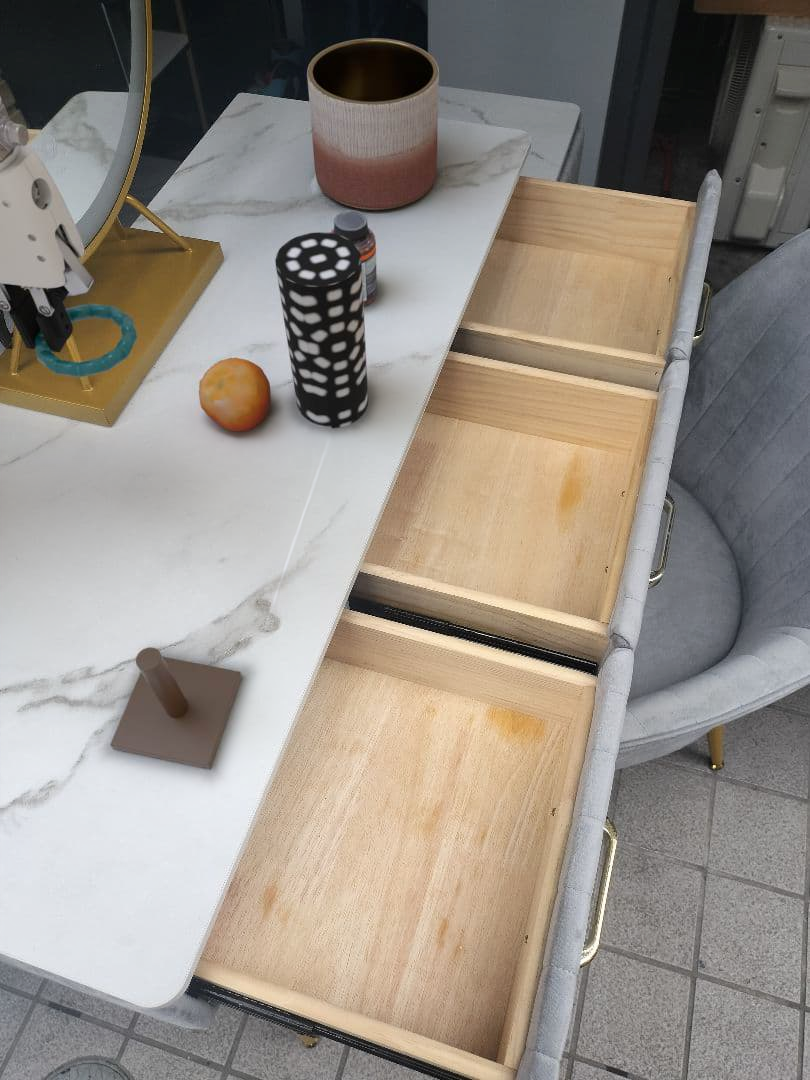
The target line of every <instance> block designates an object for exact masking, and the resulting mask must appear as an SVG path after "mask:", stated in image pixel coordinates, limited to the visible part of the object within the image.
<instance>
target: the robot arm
mask: <svg viewBox="0 0 810 1080" xmlns="http://www.w3.org/2000/svg"><path fill="white" fill-rule="evenodd" d="M29 139H30V136H29V130H28V128H27V127H26V125H24V124H23V123H15V122H14V121H13V120H11V118H10V115H9V113H8V110H7V108H6V106H5V104H4V101H3V99H2V96H1V95H0V310H1V311H4V312H8V314H9V316H10V318H11V320H12V322H13V324H14V326H15V328H16V330H17V333H18V334H19V336H20V338H21V340H22V342H23V344H24V345H25V347H26V349H28V350H36V348H35V337H36V336H37V334H38V333H39V331H40V330H41V331H42V333H43V335H44V337H45V340H46V342H47V344H48V345H49V346H50V348H51V352H52V353H61V351H62V350H63V348H64V346H65V344H66V343H67V341H68V340H69V339H70V338H71V336H72V335H73V331H74V326H73V322H72V323H71V320H70V318H69V316H68V314H67V311H66V309H67V308H66V306H65V305H64V301H65V299H67V297H70V296H71V297H74V296H79V295H84V294H87V293H88V292H89V290H90V288H91V287H92V285H93V283H94V278H93V276H92V275H91V274H90V272H89V271H88V269H87V268H86V267H85V266H84V264H83V263H82V262H81V261H80V259H82V258H83V257H84V254H85V247H84V243H83V240H82V237H81V235H80V233H79V231H78V228H77V226H76V223H75V221H74V218H73V217H72V214H71V212H70V210H69V208H68V206H67V204H66V202H65V200H64V198H63V196H62V194H61V191H60V189H59V188H58V186H57V184H56V182H55V180H54V179H53V177H52V174H51V173H50V171H49V169H48V168H47V167H46V165H45V163H44V162H43V160H42V158H41V157H40V156H39V154H38V153H37V151H36V150H35V149H34V147H33V145H32V144H31V143H30V142H29ZM26 287H28V288H26Z"/></svg>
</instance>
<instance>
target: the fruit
mask: <svg viewBox="0 0 810 1080" xmlns="http://www.w3.org/2000/svg"><path fill="white" fill-rule="evenodd" d="M198 383H199V386H198V397H199V405H200V408H201V409H202V411H204V413H205V414H206V415H207V416H208V417H209V418H210V419H211V420H212V421H214V423H216V424H218V425H219V426H220V427H222V428H224V429H226V430H228V431H232V432H247V431H250V430H253V429H255V428H256V427H257V426H258V425H260V424H262V423H263V422H264V421H265V419H266V418H267V416H268V415H269V412H270V411H269V410H270V409H271V385H270V381H269V379H268V377H267V375H266V373H265V372H264V370H263V369H262V367H260V366H259V365H258V364H256V363H255V362H252V361H250V360H248V359H245V358H239V357H229V358H226V359H222V360H219V361H218V362H216V363H214V364H213V365H212V366H210V367H209V368H208V369H207V371H205V373H204V374H203V376H202V378H201V379H200V380H199V382H198Z"/></svg>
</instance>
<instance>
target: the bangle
mask: <svg viewBox="0 0 810 1080" xmlns="http://www.w3.org/2000/svg"><path fill="white" fill-rule="evenodd" d="M65 309H66V311H67V314H68V316H69V318H70V320H71V323H72V324H73V323H76V322H79V321H83V320H89V319H100V320H107V321H111V322H113V324H115V325H117V326H118V327H120V332H121V337H120V339H119V340H118V343H117V344H116V346H115V347H114V348H112V349H111V350H109V351H108V352H106V353H105V354H103V355H102V356H100V357H98V358H97V357H96V358H93V359H92V358H91V359H88V360H83V361H79V362H78V361H73V360H72V361H71V360H63V359H61V358H60V357H58V356H57V355H55V354H54V353H53V351H52V350H51V348H50V346H49V345H48V344H47V342H46V340H45V337H44V335H43V333H42V331H41V330H40V331H39V333H38V334H37V336H36V337H35V354H36V359H37V360H38V362H39V363H41V364H42V365H43V366H45V367H46V368H47V369H48V370H50V371H51V372H53V373H54V374H56V375H60V376H68V377H75V378H76V377H77V378H85V377H88V376H92V375H97V374H102V373H105V372H108V371H110V370H112V369H113V368H115V367H116V366H117V365H119V364H120V363H122V362H123V361H125V360H127V358H129V356H130V354H131V352H132V350H133V348H134V346H135V345H136V343H137V341H138V334H137V330H136V327H135V326H136V325H135V322H134V320H133V318H132V317H131V316H129V315H128V314H127V313H125V312H123V311H122V310H121V309H119V308H118V307H116V306H114V305H106V304H100V303H86V304H82V305H77V306H76V305H75V306H72V307H67V308H65Z"/></svg>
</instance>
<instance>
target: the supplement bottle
mask: <svg viewBox="0 0 810 1080" xmlns="http://www.w3.org/2000/svg"><path fill="white" fill-rule="evenodd" d="M329 233H333V234H337V235H340V236H343V237H345V238H347V239H349V240H350V241H352V242H353V243H354V244H355V245H356V246H357V247H358V249H359V251H360V253H361V264H362V284H363V305H364V308H365V307H367V306H370V305H371V304H372V303H373V302H374V301H375V299H376V297H377V292H378V291H377V290H378V282H377V281H378V279H377V277H378V276H377V275H378V274H377V240H376V235H375V234H374V232H373V231H372V230H371V228H369V226H368V218H367V216H366V215H365V213H363V212H361V211H359V210H353V209H348V210H343V211H341V212H339V213H337V214H336V215H335V216H334V218H333V229H332V230H331V231H330V232H329Z"/></svg>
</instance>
